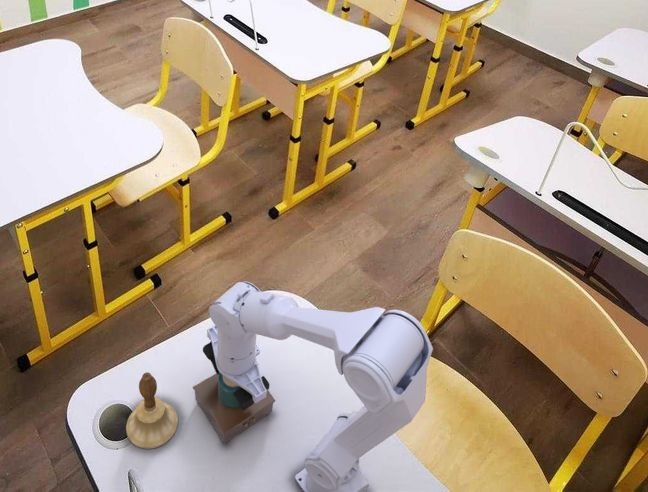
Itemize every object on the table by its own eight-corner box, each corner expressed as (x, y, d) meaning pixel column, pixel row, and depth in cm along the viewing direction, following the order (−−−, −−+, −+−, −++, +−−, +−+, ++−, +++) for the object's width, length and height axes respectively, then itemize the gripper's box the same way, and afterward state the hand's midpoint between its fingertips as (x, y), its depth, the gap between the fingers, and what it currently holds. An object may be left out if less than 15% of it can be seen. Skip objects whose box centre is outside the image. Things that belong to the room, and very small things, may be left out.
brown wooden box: (274, 415, 102) (276, 401, 99) (224, 448, 97) (224, 434, 93) (242, 371, 107) (243, 357, 104) (193, 400, 102) (192, 386, 98)
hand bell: (172, 395, 102) (167, 345, 91) (183, 439, 97) (179, 391, 86) (122, 410, 99) (110, 360, 88) (130, 456, 93) (119, 409, 83)
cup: (264, 391, 100) (267, 373, 96) (228, 414, 96) (229, 396, 92) (247, 368, 103) (249, 349, 98) (211, 389, 99) (211, 371, 95)
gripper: (285, 365, 87) (279, 408, 96) (234, 299, 94) (232, 345, 103) (245, 390, 83) (242, 432, 92) (194, 319, 90) (196, 365, 99)
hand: (234, 388), depth 98 cm, fingers open, 7 cm apart
